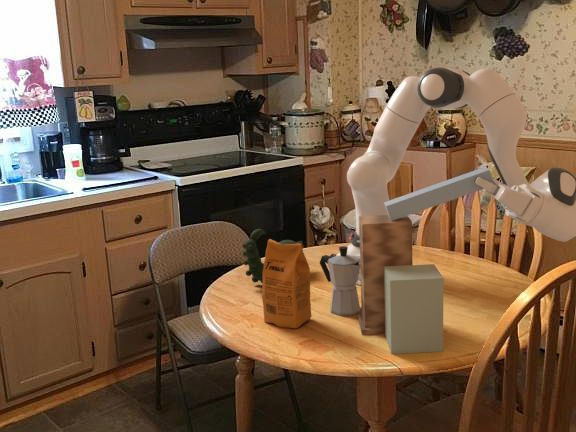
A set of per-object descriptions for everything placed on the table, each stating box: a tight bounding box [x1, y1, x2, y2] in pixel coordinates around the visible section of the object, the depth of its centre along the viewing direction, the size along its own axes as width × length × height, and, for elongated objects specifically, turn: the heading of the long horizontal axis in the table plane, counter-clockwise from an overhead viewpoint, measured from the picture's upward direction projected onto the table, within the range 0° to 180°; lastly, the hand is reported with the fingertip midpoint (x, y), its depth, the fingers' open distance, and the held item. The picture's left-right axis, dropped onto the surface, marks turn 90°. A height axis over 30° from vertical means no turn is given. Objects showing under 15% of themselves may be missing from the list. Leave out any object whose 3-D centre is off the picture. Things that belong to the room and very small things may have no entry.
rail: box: [384, 166, 494, 221], centre depth 160 cm, size 26×4×4 cm, turn 89°
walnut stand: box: [356, 215, 413, 335], centre depth 165 cm, size 14×11×28 cm
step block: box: [384, 263, 444, 355], centre depth 155 cm, size 12×10×18 cm
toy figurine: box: [241, 228, 304, 284], centre depth 205 cm, size 10×19×26 cm
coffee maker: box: [319, 245, 362, 317], centre depth 178 cm, size 15×9×18 cm, turn 44°
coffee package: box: [261, 238, 312, 329], centre depth 172 cm, size 10×12×22 cm
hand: (472, 177), depth 158 cm, fingers closed on rail, 4 cm apart
